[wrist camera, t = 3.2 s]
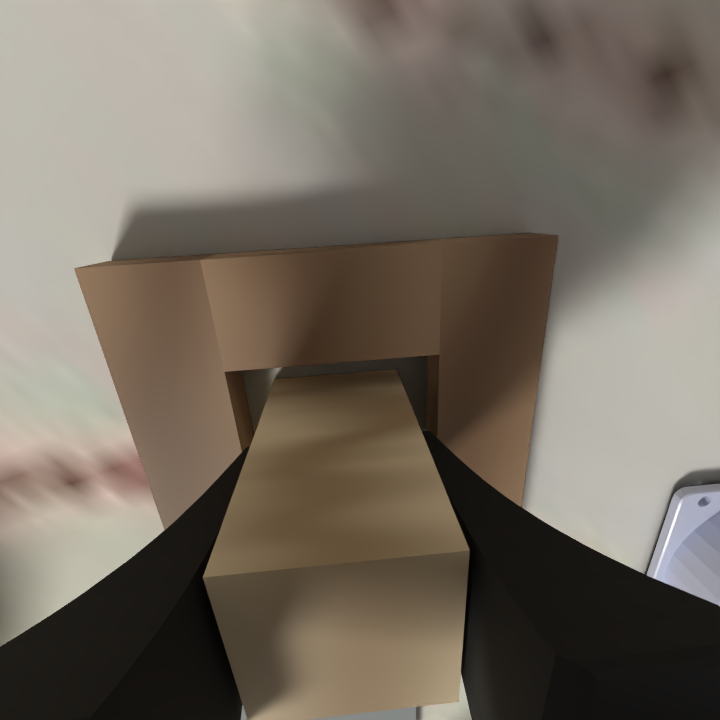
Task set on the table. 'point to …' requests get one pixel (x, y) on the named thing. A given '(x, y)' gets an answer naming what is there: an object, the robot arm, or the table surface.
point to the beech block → (340, 557)
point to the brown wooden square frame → (324, 343)
